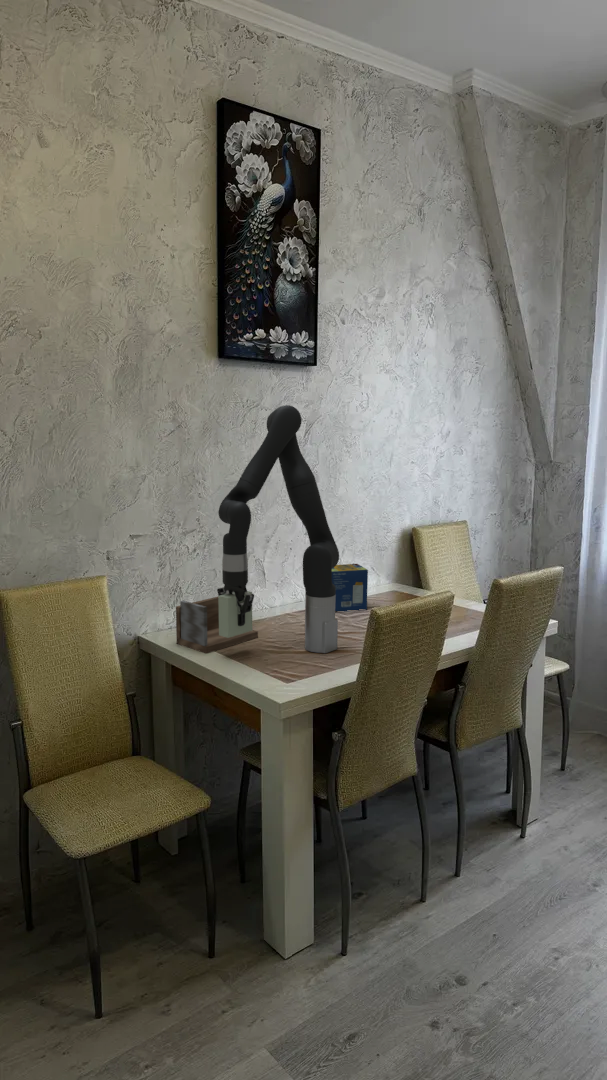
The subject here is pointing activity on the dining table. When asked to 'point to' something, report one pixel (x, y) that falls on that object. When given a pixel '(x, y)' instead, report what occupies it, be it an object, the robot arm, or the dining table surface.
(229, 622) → the sage green tall block
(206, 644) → the bookshelf
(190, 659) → the dining table surface
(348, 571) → the protein box
